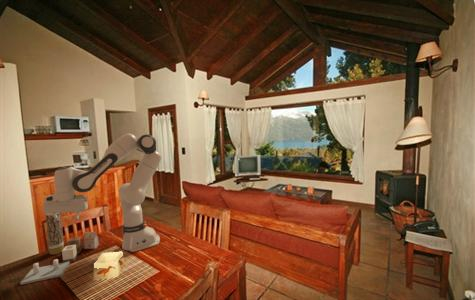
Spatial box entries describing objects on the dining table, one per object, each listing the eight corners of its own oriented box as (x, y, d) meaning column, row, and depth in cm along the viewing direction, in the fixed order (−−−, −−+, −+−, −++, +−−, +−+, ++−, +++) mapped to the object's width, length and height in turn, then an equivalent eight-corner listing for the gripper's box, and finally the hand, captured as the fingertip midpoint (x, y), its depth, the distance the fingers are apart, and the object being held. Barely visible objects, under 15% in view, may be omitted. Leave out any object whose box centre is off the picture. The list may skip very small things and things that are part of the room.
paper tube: (55, 255, 124) (51, 214, 122) (46, 254, 125) (42, 214, 123) (67, 249, 131) (63, 210, 128) (58, 248, 132) (54, 209, 130)
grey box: (87, 245, 135) (86, 230, 134) (98, 245, 135) (97, 230, 134) (83, 249, 131) (82, 233, 130) (95, 248, 131) (93, 233, 130)
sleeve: (76, 255, 124) (75, 244, 123) (74, 260, 119) (73, 248, 119) (66, 257, 122) (65, 246, 122) (63, 262, 118) (62, 250, 117)
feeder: (81, 249, 131) (80, 236, 130) (79, 253, 127) (78, 240, 126) (69, 251, 129) (68, 238, 128) (66, 255, 124) (65, 242, 124)
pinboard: (69, 263, 117) (68, 252, 116) (61, 276, 107) (60, 264, 106) (32, 270, 111) (31, 259, 110) (20, 285, 101) (19, 272, 100)
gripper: (89, 192, 124) (90, 215, 125) (47, 195, 119) (49, 218, 120) (84, 196, 118) (85, 220, 119) (40, 198, 112) (42, 223, 114)
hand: (67, 219), depth 119 cm, fingers open, 8 cm apart
